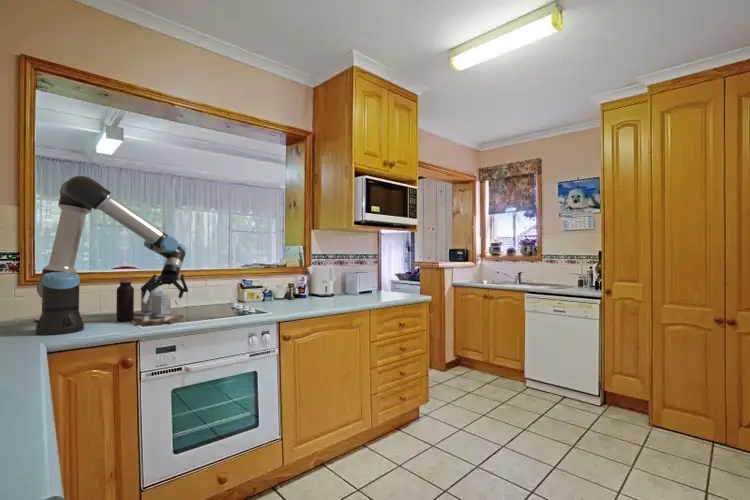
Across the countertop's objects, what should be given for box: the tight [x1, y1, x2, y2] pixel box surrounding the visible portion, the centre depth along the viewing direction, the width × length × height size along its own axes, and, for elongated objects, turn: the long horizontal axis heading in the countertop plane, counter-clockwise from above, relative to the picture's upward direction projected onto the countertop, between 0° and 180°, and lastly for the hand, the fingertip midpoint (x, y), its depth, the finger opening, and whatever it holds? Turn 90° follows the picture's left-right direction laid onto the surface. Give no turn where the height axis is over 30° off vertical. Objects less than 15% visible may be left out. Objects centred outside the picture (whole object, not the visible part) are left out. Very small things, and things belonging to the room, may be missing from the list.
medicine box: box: [152, 293, 171, 315], centre depth 179 cm, size 8×4×9 cm, turn 58°
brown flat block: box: [135, 310, 184, 327], centre depth 178 cm, size 14×18×4 cm
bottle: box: [115, 277, 135, 323], centre depth 180 cm, size 7×7×20 cm
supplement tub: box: [140, 285, 163, 317], centre depth 199 cm, size 10×10×15 cm
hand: (160, 302), depth 177 cm, fingers open, 13 cm apart
